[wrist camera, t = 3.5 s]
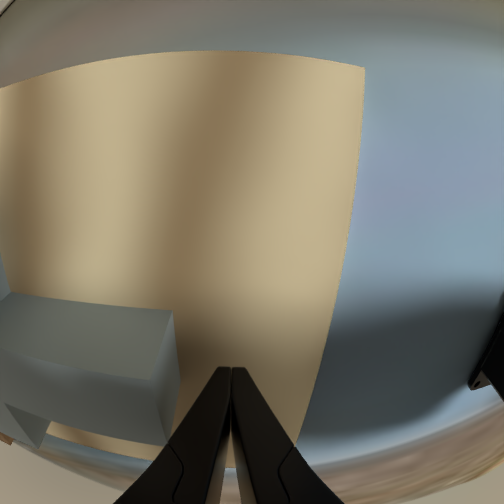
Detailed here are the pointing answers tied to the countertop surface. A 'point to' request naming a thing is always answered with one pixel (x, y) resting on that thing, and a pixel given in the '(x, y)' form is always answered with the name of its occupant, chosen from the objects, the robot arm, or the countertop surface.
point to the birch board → (189, 208)
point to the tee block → (85, 368)
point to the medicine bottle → (4, 5)
